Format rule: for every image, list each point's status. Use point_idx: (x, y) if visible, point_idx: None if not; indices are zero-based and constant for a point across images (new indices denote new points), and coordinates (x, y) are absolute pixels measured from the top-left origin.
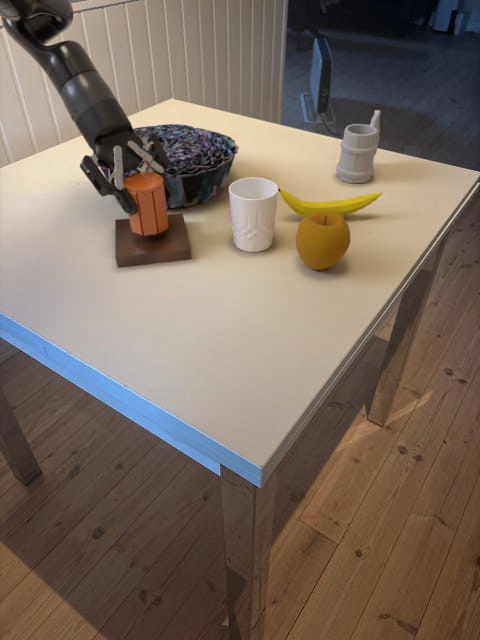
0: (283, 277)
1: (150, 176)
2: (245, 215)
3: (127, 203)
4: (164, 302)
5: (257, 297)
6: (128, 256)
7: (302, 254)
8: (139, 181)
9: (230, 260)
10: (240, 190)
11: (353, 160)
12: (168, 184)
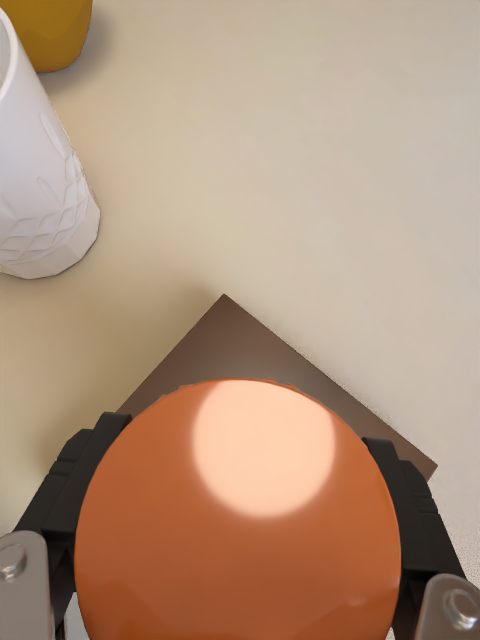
0: (145, 82)
1: (144, 552)
2: (50, 105)
3: (411, 493)
4: (419, 228)
5: (249, 84)
6: (397, 433)
7: (88, 3)
8: (269, 552)
9: (161, 216)
10: None
11: None
12: (69, 465)
